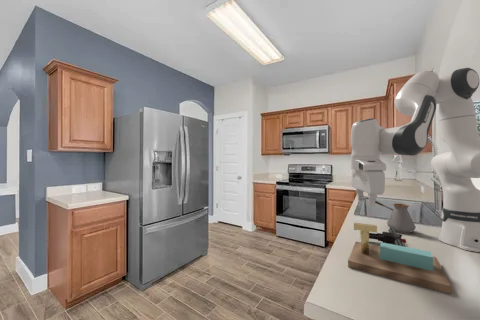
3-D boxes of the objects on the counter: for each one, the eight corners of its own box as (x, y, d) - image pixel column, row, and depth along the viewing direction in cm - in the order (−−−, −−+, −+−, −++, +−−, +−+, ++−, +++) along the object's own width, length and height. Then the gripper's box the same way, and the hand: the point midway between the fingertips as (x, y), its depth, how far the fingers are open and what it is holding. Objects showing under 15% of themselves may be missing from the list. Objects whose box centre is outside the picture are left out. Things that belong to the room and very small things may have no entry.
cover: (430, 264, 66) (430, 251, 66) (432, 270, 62) (432, 257, 62) (380, 253, 73) (380, 242, 73) (380, 258, 69) (380, 246, 69)
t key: (353, 243, 82) (353, 218, 82) (374, 246, 79) (374, 220, 79) (353, 251, 75) (353, 224, 75) (377, 255, 71) (377, 226, 71)
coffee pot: (416, 230, 105) (416, 200, 105) (415, 236, 96) (415, 203, 96) (367, 222, 119) (367, 195, 119) (362, 226, 110) (362, 198, 110)
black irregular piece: (363, 239, 81) (412, 246, 74) (361, 221, 99) (400, 226, 92) (363, 252, 82) (411, 260, 75) (361, 232, 99) (400, 237, 92)
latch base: (436, 263, 71) (436, 257, 71) (451, 293, 54) (451, 286, 54) (355, 246, 84) (355, 241, 84) (348, 266, 68) (348, 260, 68)
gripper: (346, 164, 85) (347, 198, 85) (366, 165, 65) (367, 209, 65) (364, 164, 84) (364, 198, 84) (389, 165, 64) (390, 210, 64)
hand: (365, 203), depth 74 cm, fingers open, 8 cm apart
